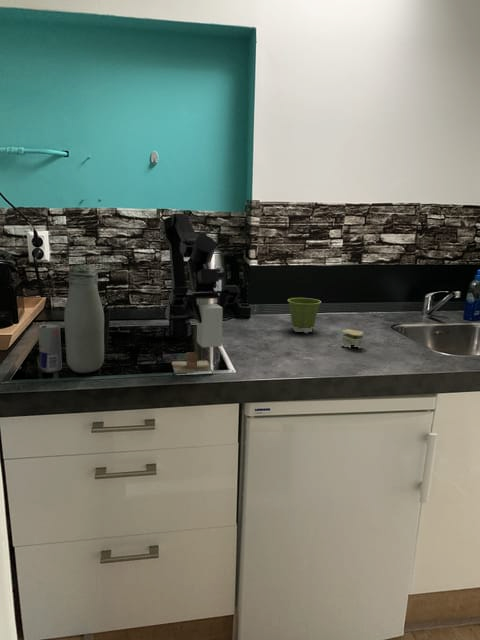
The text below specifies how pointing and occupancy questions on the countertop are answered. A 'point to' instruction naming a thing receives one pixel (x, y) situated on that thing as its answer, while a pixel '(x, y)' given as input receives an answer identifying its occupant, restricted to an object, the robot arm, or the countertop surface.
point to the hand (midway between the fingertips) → (210, 321)
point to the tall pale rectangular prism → (210, 325)
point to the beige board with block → (190, 365)
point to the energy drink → (50, 348)
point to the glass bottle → (84, 321)
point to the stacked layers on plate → (352, 336)
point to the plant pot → (303, 311)
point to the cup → (106, 328)
